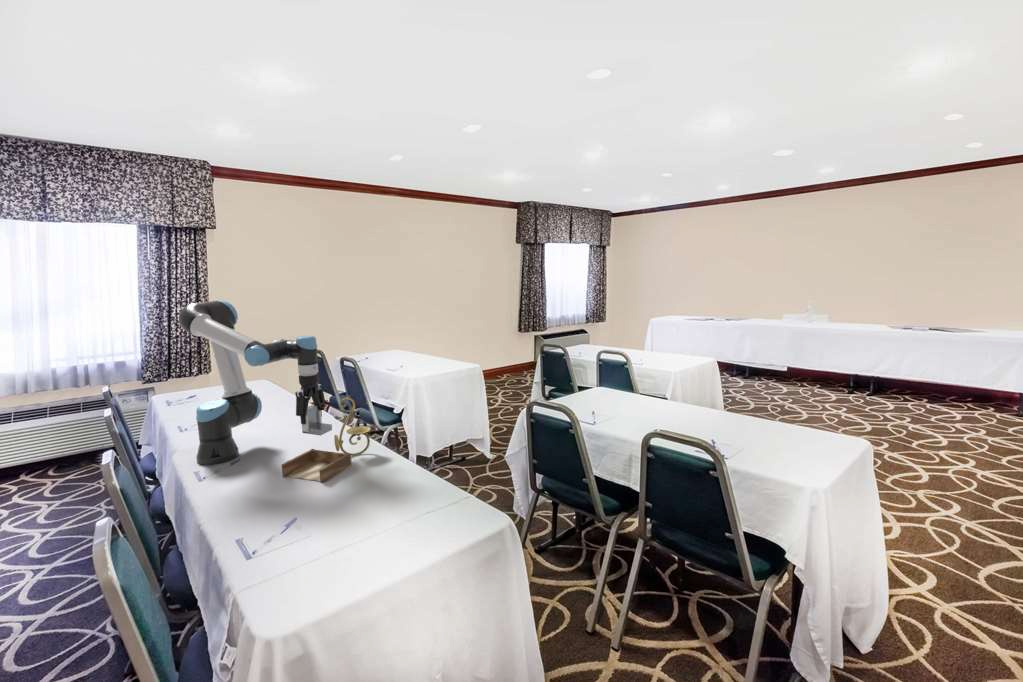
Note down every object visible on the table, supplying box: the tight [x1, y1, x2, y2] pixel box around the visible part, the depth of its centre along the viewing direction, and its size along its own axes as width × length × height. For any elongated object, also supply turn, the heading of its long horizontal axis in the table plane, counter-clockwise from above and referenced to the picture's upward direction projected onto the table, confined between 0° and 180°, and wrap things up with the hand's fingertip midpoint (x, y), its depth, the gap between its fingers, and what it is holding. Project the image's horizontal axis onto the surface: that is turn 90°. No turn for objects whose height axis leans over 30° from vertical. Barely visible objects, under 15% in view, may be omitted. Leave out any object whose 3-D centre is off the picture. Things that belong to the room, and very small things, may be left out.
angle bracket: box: [301, 404, 333, 437], centre depth 205 cm, size 9×7×10 cm
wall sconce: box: [333, 397, 371, 457], centre depth 204 cm, size 14×10×25 cm
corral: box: [281, 448, 352, 484], centre depth 191 cm, size 18×16×5 cm
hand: (312, 428), depth 206 cm, fingers closed on angle bracket, 7 cm apart
